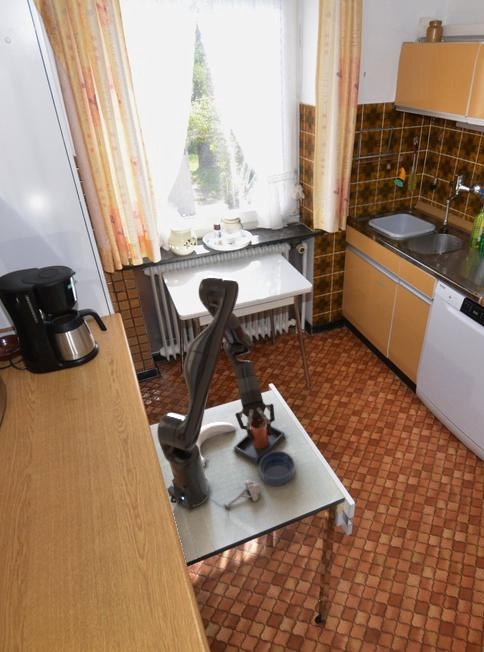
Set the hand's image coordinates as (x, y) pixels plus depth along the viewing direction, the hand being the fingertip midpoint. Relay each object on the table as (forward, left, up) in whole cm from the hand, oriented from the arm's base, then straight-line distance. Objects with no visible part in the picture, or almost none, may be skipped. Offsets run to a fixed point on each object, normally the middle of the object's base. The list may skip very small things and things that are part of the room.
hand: (261, 437), depth 152 cm
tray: (0, +1, -5) cm, 5 cm away
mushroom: (-20, -9, -5) cm, 22 cm away
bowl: (-6, -11, -5) cm, 13 cm away
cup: (+1, +1, -4) cm, 5 cm away
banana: (-9, +15, -5) cm, 18 cm away
